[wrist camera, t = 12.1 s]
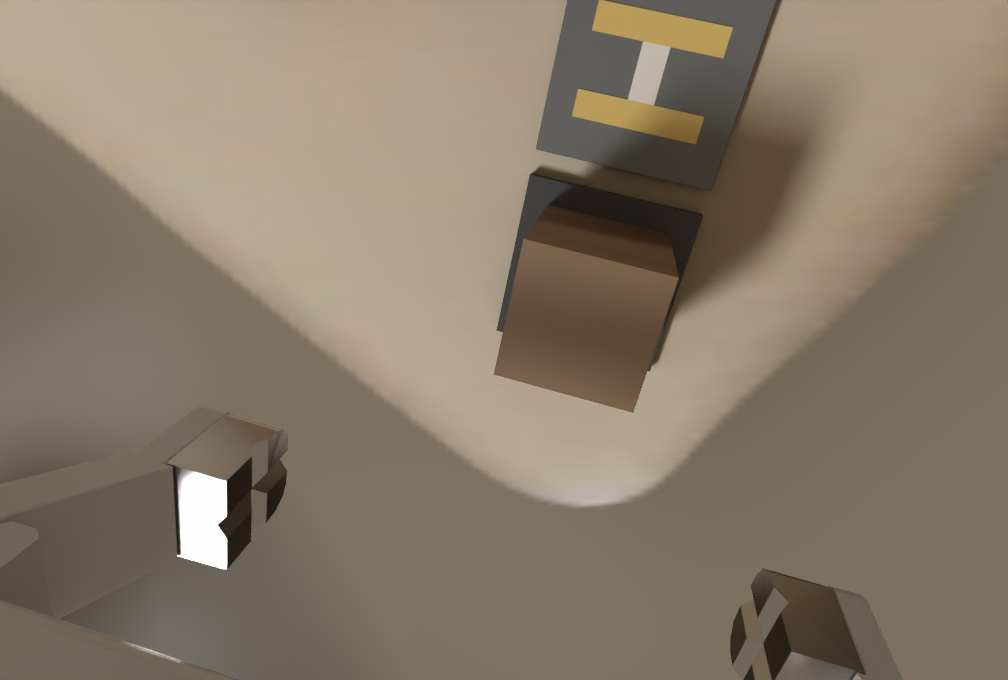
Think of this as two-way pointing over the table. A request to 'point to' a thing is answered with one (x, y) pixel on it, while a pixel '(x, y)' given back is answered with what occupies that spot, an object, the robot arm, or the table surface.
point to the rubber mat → (610, 207)
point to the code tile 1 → (652, 83)
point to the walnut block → (587, 306)
